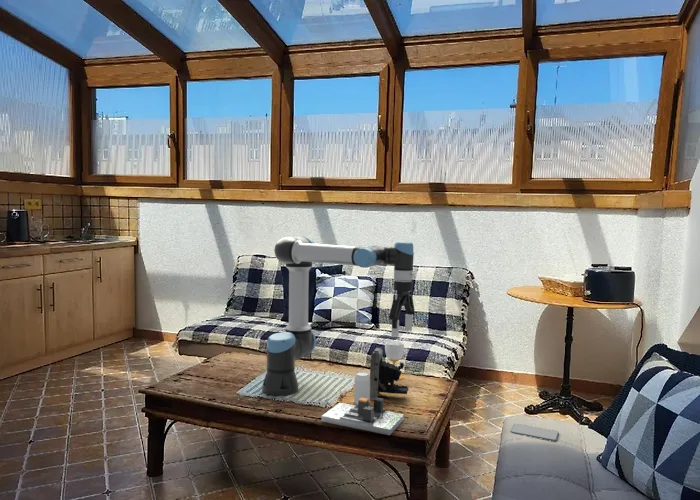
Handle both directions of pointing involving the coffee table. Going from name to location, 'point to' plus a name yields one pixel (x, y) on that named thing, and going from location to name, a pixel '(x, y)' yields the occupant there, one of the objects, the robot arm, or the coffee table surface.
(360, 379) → the beverage can
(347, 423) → the breaker panel
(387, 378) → the vintage camera
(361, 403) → the breaker
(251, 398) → the coffee table surface
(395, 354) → the cup
